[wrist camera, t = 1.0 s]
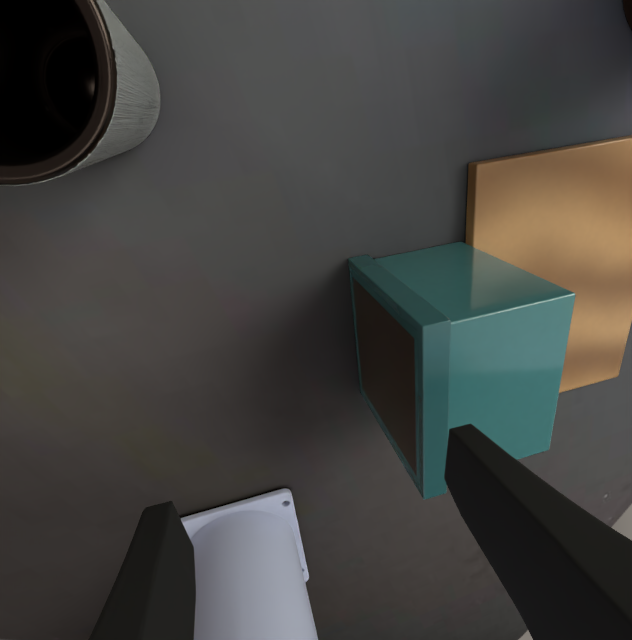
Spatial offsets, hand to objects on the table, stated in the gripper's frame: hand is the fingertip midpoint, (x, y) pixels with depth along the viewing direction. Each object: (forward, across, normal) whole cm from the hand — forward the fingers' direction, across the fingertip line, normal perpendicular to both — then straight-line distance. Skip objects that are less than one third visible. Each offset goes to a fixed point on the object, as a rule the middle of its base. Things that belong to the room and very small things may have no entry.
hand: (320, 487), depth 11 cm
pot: (+12, -8, +4) cm, 15 cm away
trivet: (+12, -17, +4) cm, 22 cm away
